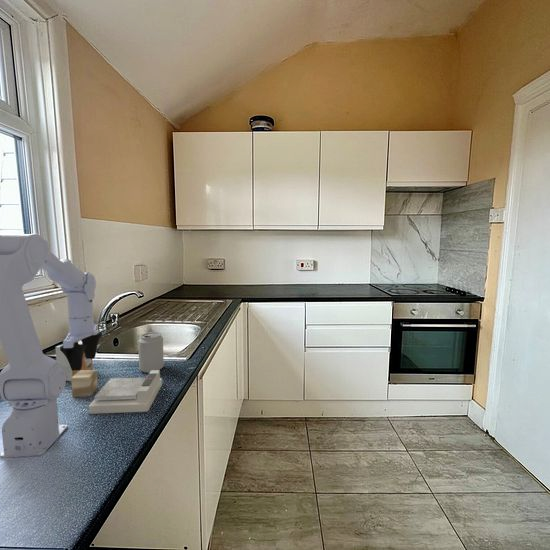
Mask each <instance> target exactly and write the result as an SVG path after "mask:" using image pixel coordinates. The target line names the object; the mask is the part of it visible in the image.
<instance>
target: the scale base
mask: <svg viewBox="0 0 550 550" xmlns="http://www.w3.org/2000/svg"><path fill="white" fill-rule="evenodd" d="M160 372H161V370H151V371H150V373H147V374H148V375H147V376H145V378H146V379H145V380H144V382H143V383H142V385H141V386H140V388H139V389H138V391H137V395H138V396H137V398H136V399H123V400H96V401H94V400H92V402H91V403H90V404H89V405H88V414H89V415H90V414H92V415H93V414H94V415H95V414H115V413H117V414H118V413H138V412H139V413H143V412H144V413H145V412H146V413H147V412H149V410H150V408H151V406H152V404H153V403H154V401H155V399H156V397H157V395H158V393H159V391H160V389H161V387H162V385H163V378H162V377H161V373H160Z"/></svg>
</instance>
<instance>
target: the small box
mask: <svg viewBox="0 0 550 550" xmlns="http://www.w3.org/2000/svg"><path fill="white" fill-rule="evenodd" d="M78 344H80V345H83V344H82V341H81V340H80V341H79V342H78ZM62 345H63V343H62V344H59V345H57V346H55V360H56V361H58V364H59V367H60V368H61V369H62V370H63V371H64V373H65V375H66V381H67V382H72V381H71V378H72V377H73V376H74V375H75V374H76V373H78V372H79V371H80V370H74V371H72V369H71V367H70V364H69V362H68V360H67V358H66V356H65V355H64V354H63V352H62V351H60V346H62ZM81 370H94V369H93V359H86V357H85V352H84V353H83V359H82V368H81Z"/></svg>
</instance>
